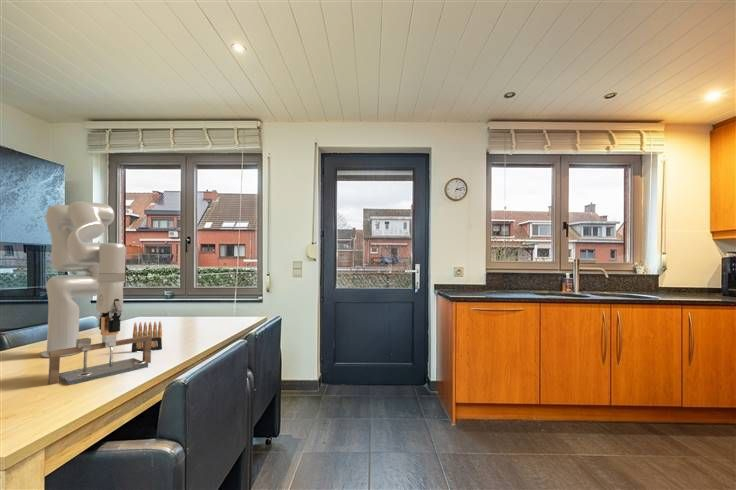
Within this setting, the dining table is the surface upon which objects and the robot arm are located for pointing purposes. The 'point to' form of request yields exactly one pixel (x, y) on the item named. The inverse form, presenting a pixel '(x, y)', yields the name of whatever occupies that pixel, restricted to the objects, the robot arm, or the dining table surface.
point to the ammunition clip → (156, 338)
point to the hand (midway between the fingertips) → (109, 330)
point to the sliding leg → (108, 336)
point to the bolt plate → (101, 371)
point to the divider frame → (85, 346)
